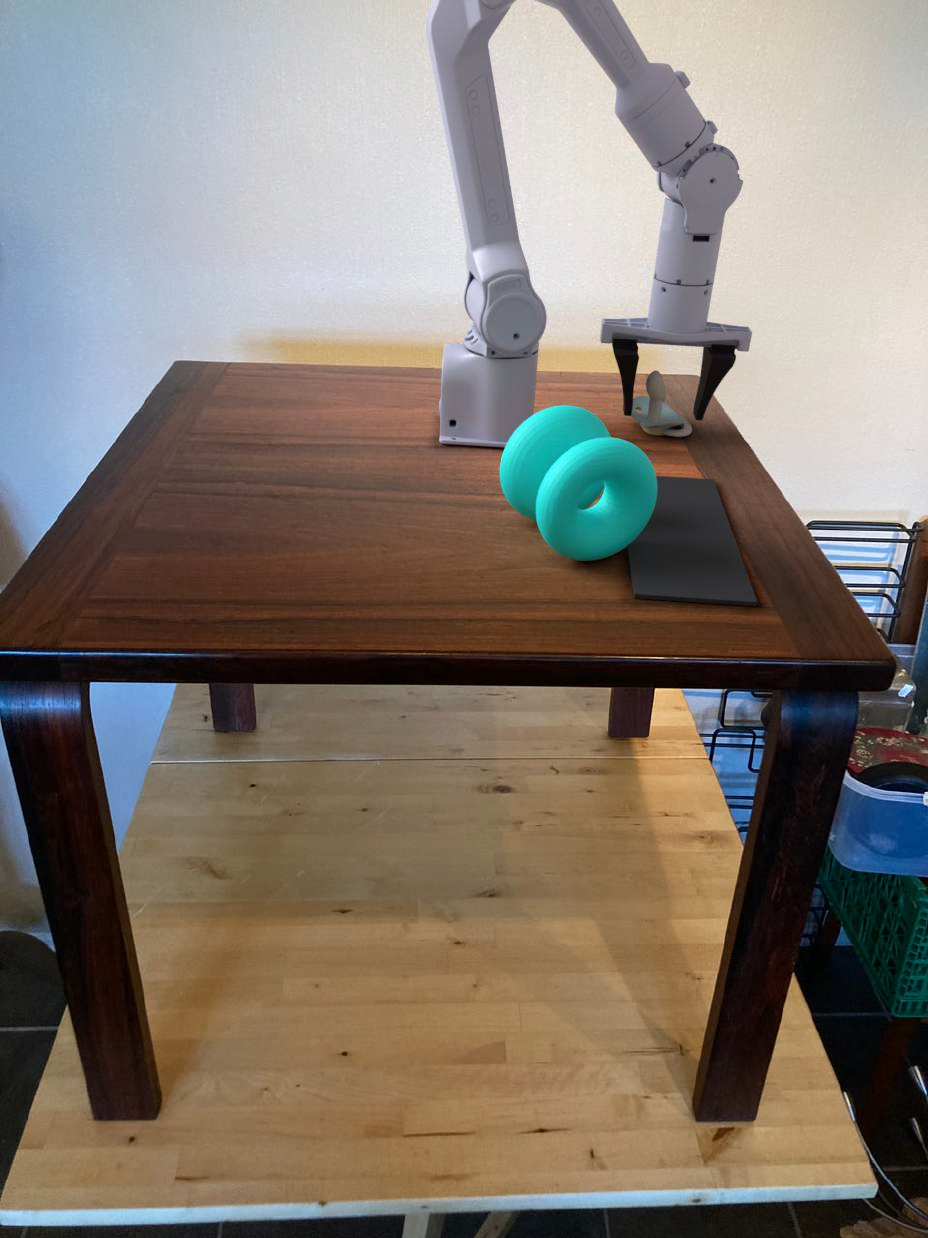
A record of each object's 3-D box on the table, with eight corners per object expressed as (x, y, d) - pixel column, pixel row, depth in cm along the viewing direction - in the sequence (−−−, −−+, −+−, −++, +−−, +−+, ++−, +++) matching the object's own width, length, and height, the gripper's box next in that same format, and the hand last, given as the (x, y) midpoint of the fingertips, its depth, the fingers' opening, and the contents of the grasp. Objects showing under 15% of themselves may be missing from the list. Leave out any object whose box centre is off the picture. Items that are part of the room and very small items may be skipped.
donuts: (596, 505, 85) (609, 394, 80) (654, 557, 77) (673, 439, 72) (491, 519, 82) (497, 406, 77) (540, 576, 74) (552, 453, 69)
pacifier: (673, 416, 105) (621, 417, 104) (683, 359, 102) (630, 359, 100) (701, 442, 99) (647, 443, 98) (714, 382, 96) (657, 383, 94)
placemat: (634, 598, 72) (634, 593, 72) (615, 477, 91) (616, 473, 90) (756, 606, 72) (757, 602, 71) (712, 483, 90) (713, 479, 90)
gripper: (752, 273, 96) (727, 405, 104) (605, 265, 97) (590, 397, 104) (765, 291, 90) (738, 429, 98) (609, 282, 91) (593, 420, 98)
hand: (662, 414), depth 100 cm, fingers open, 7 cm apart
